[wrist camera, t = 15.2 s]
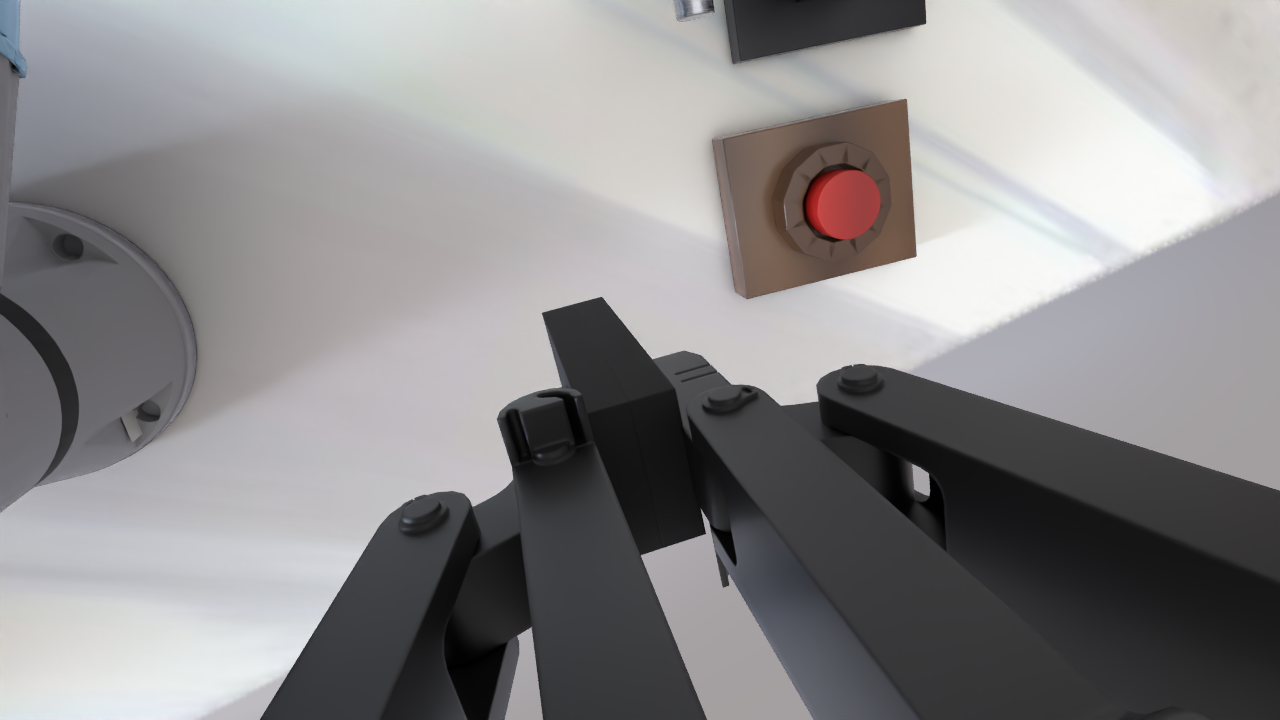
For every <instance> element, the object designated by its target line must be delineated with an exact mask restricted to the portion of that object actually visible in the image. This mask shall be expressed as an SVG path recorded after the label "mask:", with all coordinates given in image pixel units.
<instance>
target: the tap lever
mask: <svg viewBox="0 0 1280 720" xmlns="http://www.w3.org/2000/svg"><path fill="white" fill-rule="evenodd" d="M673 1H674V7H675V13H676V19H677V21H679V22H683V21H690V20H695V19H699V18H703V17H706V16H709V15H712V14H713V13H714V4H713V0H673Z"/></svg>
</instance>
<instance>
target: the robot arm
mask: <svg viewBox="0 0 1280 720" xmlns="http://www.w3.org/2000/svg"><path fill="white" fill-rule="evenodd" d="M19 33H20V0H0V512H2V511H3V510H4V509H5V508H7V507H8V506H9V505H11V504H12V503H13V502H15V501H16V500H17V499H19V498H20V497H21V496H23V495H24V494H25V493H27V492H28V491H29V490H30V489H32V488H33V487H37V486H41V485H45V484H49V483H53V482H57V481H61V480H65V479H69V478H73V477H77V476H81V475H85V474H88V473H92V472H95V471H98V470H101V469H104V468H106V467H108V466H110V465H113V464H115V463H117V462H119V461H121V460H123V459H125V458H127V457H129V456H131V455H132V454H134V453H136V452H137V451H139V450H140V449H142V448H143V447H144V446H146V445H147V444H148V443H149V442H151V441H152V440H153V439H154V438H155V437H157V436H158V435H159V434H160V433H161V432H162V431H163V430H164V429H165V428H166V427H167V426H168V425H169V424H170V423H171V422H172V421H173V420H174V418H175V417H176V416H177V415H178V413H179V412H180V410H181V409H182V407H183V405H184V404H185V402H186V400H187V397H188V395H189V393H190V390H191V387H192V384H193V381H194V376H195V371H196V359H197V357H196V342H195V335H194V331H193V327H192V323H191V320H190V317H189V315H188V312H187V309H186V307H185V305H184V303H183V301H182V299H181V297H180V295H179V294H178V292H177V291H176V289H175V287H174V286H173V284H172V283H171V282H170V280H169V279H168V278H167V276H166V275H165V274H164V273H163V271H162V270H161V269H160V268H159V267H158V266H157V265H156V264H155V263H154V262H153V261H152V260H151V259H150V258H149V257H148V256H147V255H146V254H145V253H144V252H143V251H141V250H140V249H139V248H138V247H136V246H135V245H134V244H133V243H131V242H130V241H129V240H127V239H126V238H124V237H123V236H121V235H120V234H118V233H116V232H115V231H113V230H111V229H109V228H107V227H106V226H104V225H102V224H100V223H98V222H95V221H93V220H91V219H89V218H86V217H84V216H81V215H78V214H76V213H73V212H70V211H66V210H62V209H59V208H55V207H50V206H45V205H40V204H31V203H21V202H9V195H10V183H11V171H12V158H13V146H14V134H15V121H16V109H17V97H18V84H19V78H25V77H26V71H27V65H26V60H25V58H24V57H23V55H22V54H21V53H20V51H19ZM542 315H543V318H544V322H545V325H546V329H547V333H548V336H549V340H550V344H551V347H552V351H553V355H554V358H555V362H556V366H557V369H558V373H559V377H560V380H561V384H562V387H561V388H553V389H547V390H543V391H538V392H534V393H532V394H529V395H526V396H523V397H521V398H519V399H517V400H515V401H513V402H512V403H510V404H508V405H507V406H506V407H505V408H504V409H502V410H501V411H500V412H499V415H498V418H497V421H498V424H499V427H500V431H501V434H502V437H503V440H504V443H505V446H506V450H507V453H508V456H509V459H510V462H511V465H512V471H513V481H512V482H511V483H510V484H509V485H508V486H507V487H506V488H505V489H504V490H502V491H501V492H500V493H498V494H497V495H495V496H493V497H492V498H490V499H488V500H486V501H484V502H482V503H480V504H478V505H476V506H474V507H472V505H471V502H470V500H469V499H468V498H467V497H466V496H465V494H462V493H458V492H454V491H449V492H437V493H433V494H430V495H422V496H419V497H416V498H415V500H410V501H408V502H406V503H404V504H403V505H402V506H401V507H400V508H398V509H397V510H396V511H394V512H393V513H391V514H390V515H389V516H388V517H387V518H386V519H385V520H384V521H383V523H382V524H381V525H380V526H379V528H378V529H377V531H376V533H375V534H374V536H373V537H372V539H371V541H370V542H369V544H368V546H367V547H366V549H365V550H364V552H363V554H362V555H361V557H360V558H359V560H358V562H357V563H356V565H355V567H354V568H353V570H352V571H351V573H350V575H349V576H348V578H347V580H346V581H345V583H344V584H343V586H342V588H341V589H340V591H339V592H338V594H337V596H336V597H335V599H334V601H333V602H332V604H331V605H330V607H329V609H328V610H327V612H326V614H325V615H324V617H323V618H322V620H321V622H320V623H319V625H318V626H317V628H316V630H315V631H314V633H313V635H312V636H311V638H310V639H309V641H308V643H307V644H306V646H305V648H304V649H303V651H302V652H301V654H300V656H299V657H298V659H297V660H296V662H295V664H294V665H293V667H292V669H291V670H290V672H289V673H288V675H287V677H286V678H285V680H284V682H283V683H282V685H281V687H280V688H279V690H278V691H277V693H276V695H275V696H274V698H273V700H272V701H271V703H270V704H269V706H268V707H267V709H266V711H265V712H264V714H263V716H262V717H261V719H260V720H504V719H505V715H506V711H507V706H508V702H509V697H510V693H511V688H512V684H513V679H514V675H515V670H516V666H517V661H518V657H519V640H518V638H517V635H519V634H521V633H522V632H524V631H526V630H527V629H529V628H531V627H532V633H533V641H534V649H535V657H536V665H537V673H538V681H539V689H540V697H541V706H542V714H543V720H707V719H706V716H705V714H704V711H703V709H702V706H701V704H700V701H699V699H698V696H697V694H696V691H695V689H694V687H693V684H692V682H691V679H690V677H689V674H688V672H687V669H686V667H685V664H684V662H683V659H682V657H681V654H680V652H679V650H678V647H677V644H676V642H675V640H674V637H673V634H672V632H671V630H670V627H669V625H668V622H667V620H666V617H665V615H664V612H663V610H662V607H661V605H660V602H659V600H658V597H657V595H656V593H655V590H654V588H653V585H652V583H651V581H650V578H649V575H648V573H647V570H646V568H645V566H644V563H643V560H642V558H641V555H643V554H646V553H649V552H652V551H655V550H658V549H660V548H664V547H667V546H670V545H673V544H676V543H679V542H682V541H685V540H688V539H692V538H695V537H698V536H701V535H704V534H706V532H705V527H704V523H703V518H702V513H701V509H702V511H703V512H704V514H705V516H706V517H707V519H708V520H709V523H710V528H711V533H712V537H713V543H714V548H715V552H716V557H717V562H718V567H719V571H720V576H721V581H722V585H723V587H726V586H729V581H728V575H729V574H730V576H731V578H732V580H733V581H734V583H735V585H736V586H737V588H738V590H739V592H740V593H741V595H742V597H743V598H744V600H745V602H746V604H747V605H748V607H749V609H750V611H751V612H752V614H753V616H754V617H755V619H756V621H757V623H758V624H759V626H760V628H761V630H762V631H763V633H764V635H765V636H766V638H767V640H768V641H769V643H770V645H771V647H772V648H773V650H774V652H775V653H776V655H777V657H778V659H779V661H780V662H781V664H782V666H783V667H784V669H785V671H786V673H787V674H788V676H789V678H790V679H791V681H792V683H793V685H794V686H795V688H796V690H797V691H798V693H799V695H800V697H801V698H802V700H803V702H804V703H805V705H806V707H807V709H808V711H809V712H810V714H811V716H812V717H813V719H814V720H1280V491H1279V490H1276V489H1272V488H1269V487H1266V486H1263V485H1260V484H1256V483H1253V482H1250V481H1247V480H1244V479H1241V478H1237V477H1234V476H1231V475H1228V474H1225V473H1222V472H1219V471H1215V470H1212V469H1209V468H1206V467H1202V466H1200V465H1196V464H1193V463H1190V462H1187V461H1184V460H1180V459H1177V458H1174V457H1171V456H1168V455H1165V454H1162V453H1158V452H1155V451H1152V450H1149V449H1146V448H1143V447H1139V446H1136V445H1133V444H1130V443H1127V442H1124V441H1120V440H1117V439H1114V438H1111V437H1107V436H1104V435H1101V434H1098V433H1095V432H1092V431H1089V430H1085V429H1082V428H1079V427H1076V426H1073V425H1070V424H1066V423H1063V422H1060V421H1057V420H1054V419H1051V418H1047V417H1044V416H1041V415H1038V414H1035V413H1032V412H1028V411H1025V410H1022V409H1019V408H1016V407H1012V406H1009V405H1006V404H1003V403H1000V402H997V401H993V400H990V399H987V398H984V397H981V396H978V395H974V394H971V393H968V392H965V391H962V390H959V389H955V388H952V387H949V386H946V385H943V384H940V383H937V382H933V381H930V380H927V379H924V378H921V377H917V376H914V375H911V374H908V373H905V372H902V371H898V370H895V369H892V368H887V367H882V366H870V365H865V364H857V365H854V366H853V367H852V365H850V366H845V367H842V368H841V369H839V370H836V371H833V372H830V373H829V374H827V375H825V376H824V377H822V378H821V379H820V380H819V382H818V383H817V385H816V386H817V394H818V402H811V403H804V404H796V405H786V406H780V405H779V404H778V403H777V402H776V401H775V400H773V399H772V398H771V397H770V396H769V395H768V394H767V393H765V392H764V391H763V390H761V389H759V388H757V387H754V386H750V385H731V384H730V383H729V382H728V381H727V380H726V379H725V378H724V377H723V376H722V375H721V374H720V373H719V372H718V373H717V370H716V369H715V368H714V367H713V366H712V365H711V366H710V364H709V363H708V362H707V361H706V360H705V359H704V358H703V357H702V356H701V355H698V354H694V353H691V352H687V351H681V352H677V353H674V354H670V355H667V356H663V357H660V358H656V359H653V360H652V359H651V357H650V356H649V355H648V354H647V352H646V351H645V350H644V349H643V347H642V346H641V345H640V344H639V342H638V341H637V340H636V339H635V337H634V336H633V335H632V334H631V332H630V331H629V330H628V329H627V328H626V326H625V325H624V324H623V323H622V321H621V320H620V319H619V318H618V316H617V315H616V314H615V313H614V311H613V310H612V309H611V308H610V306H609V305H608V304H607V303H606V301H605V300H604V299H603V298H602V297H599V298H596V299H592V300H588V301H584V302H581V303H577V304H573V305H569V306H566V307H562V308H558V309H554V310H551V311H547V312H543V313H542ZM912 464H914V465H916V466H918V467H921V468H922V469H923V470H925V471H926V472H928V473H929V479H930V496H926V495H924V494H921V493H919V492H917V491H916V490H914V483H913V470H912Z"/></svg>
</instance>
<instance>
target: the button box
mask: <svg viewBox="0 0 1280 720" xmlns="http://www.w3.org/2000/svg"><path fill="white" fill-rule="evenodd" d="M712 142H713V148H714V155H715V161H716V168H717V174H718V181H719V187H720V194H721V200H722V207H723V213H724V220H725V226H726V233H727V239H728V246H729V252H730V259H731V265H732V272H733V278H734V285H735V291H736V293H738V294H739V295H741V296H743V297H744V298H746V299H749V298H753V297H757V296H761V295H765V294H769V293H773V292H777V291H781V290H785V289H789V288H793V287H797V286H801V285H805V284H809V283H813V282H817V281H821V280H825V279H829V278H833V277H837V276H841V275H845V274H849V273H853V272H857V271H861V270H865V269H869V268H873V267H877V266H881V265H885V264H889V263H893V262H897V261H901V260H905V259H909V258H913V257H916V240H915V223H914V207H913V191H912V174H911V158H910V142H909V126H908V109H907V99H900V100H890V101H884V102H880V103H875V104H871V105H866V106H861V107H857V108H852V109H848V110H843V111H838V112H834V113H829V114H825V115H820V116H815V117H811V118H806V119H802V120H797V121H792V122H788V123H783V124H779V125H774V126H769V127H765V128H760V129H756V130H751V131H746V132H742V133H737V134H733V135H728V136H723V137H719V138H714V139H712ZM834 169H848V170H858V171H862V172H864V173H866V174H867V175H869V176H870V177H871V178H872V179H873V180H874V181H875V183H876V185H877V187H878V189H879V192H880V200H881V203H880V210H879V213H878V216H877V218H876V220H875V222H874V224H873V225H872V226H871V227H870V228H869V229H868V230H867V231H866V232H865V233H864V234H862V235H860V236H858V237H856V238H853V239H848V240H842V239H837V238H834V237H830V236H826V235H823V234H821V233H819V232H818V231H816V230H815V229H814V228H813V227H812V225H811V224H810V222H809V220H808V218H807V215H806V207H805V205H806V197H807V194H808V191H809V189H810V187H811V186H812V184H813V183H814V181H815V180H816V179H817V178H818V177H820V176H821V175H822V174H824V173H825V172H828V171H830V170H834Z"/></svg>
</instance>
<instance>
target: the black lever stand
mask: <svg viewBox="0 0 1280 720" xmlns="http://www.w3.org/2000/svg"><path fill="white" fill-rule="evenodd" d="M724 4H725V11H726V19H727V26H728V33H729V40H730V47H731V54H732V62H733V64H736V63H741V62H746V61H750V60H755V59H760V58H765V57H770V56H775V55H780V54H785V53H790V52H795V51H800V50H804V49H809V48H814V47H819V46H824V45H829V44H834V43H839V42H844V41H849V40H854V39H858V38H863V37H868V36H873V35H878V34H883V33H888V32H893V31H898V30H903V29H908V28H912V27H916V26H920V25H923V24H926V9H925V0H724Z"/></svg>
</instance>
